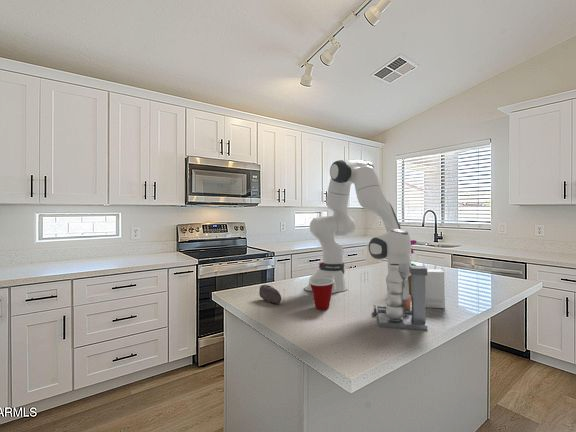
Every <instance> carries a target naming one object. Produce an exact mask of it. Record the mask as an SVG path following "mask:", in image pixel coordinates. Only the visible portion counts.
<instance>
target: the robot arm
mask: <svg viewBox="0 0 576 432" xmlns="http://www.w3.org/2000/svg"><path fill="white" fill-rule="evenodd" d="M329 176H330V180H329V182H328V183H329V184H328V187H327V195H326V199H325V203H326V206H327V208H328V209H329V210H330V211H332V212H333V214H332V215H329V216H328V215H326V216H324V215H322V216H317V217H314V218H312V220H311V221H310V222H309V230H310V231H309V232H310V233H311V234H312V236H314V237H315V238H316V239H317V240H318V242H319V243H320V246H321V252H322V253H321V254H322V261H319V262H318V268H319V269H318V270H316V271H315V272H314V273H312V274H311V275H310V277H309V279H308V283H306V284H305V285H304V290H305V291H308V292H309V291H310V292H312V288H311V285H310V283H309V281H310V280H312V279H316V278H330V279H333V280H334V283H333V286H332V292H331V294H335V293H340V292H345V291H347V290H348V288H347V283H346V277H345V271H346V264H345V261H344V259H345V258H344V248H343V246H342V245H341V244H339V243H337V242H336V240H335V237H346V236H349V235H353V234H354V233H355V230H356V222H355V220H354V218H353V217H351V215H350V213H349V209H348V207H349V198H350V193H351V186H352V184H354V189H355V193H356V194H355V195H356V198H357V201H358V203H359V205H360V206H361V207H362V208H363V209H365V210H367V211H369V212H371V213H373V214H374V215H375V214H376V215H377V216H378V217H379V218H381V220H382V222H383V225H384V228H385V230H386V232H385V233H384V234H382V235H378V236H375V237H372V238H371V239H370V240H369V243H368V252H369V255H370V256H371V257H372V258H373V259H375V260H386V261H387V274H388V273H389V272H390V269H389V268H390V264H400V268H401V270H400V272H401V273H402V275H403V276H404V279H405V280H404V288H403V300H409V282H408V276H411V273H410V272H409V266H411V263H412V260H411V254H412V253H411V248H412V245H411V240H412V239H411V236H410V233H409V232H408V231H407V230H405V229H402V228H401V225H400V222H399V220H398V218H397V216H396V212H395V210H394V208H393V206H392V204H391V203H390V202H389V200H388V199H387V197H386V196H385V193H384V191H383V188H382V184H381V180H380V179H379V176H378V173H377V171H376V169H375V166H374V164H373V163H372V162H371V161H369V160H365V159H364V160H360V159H345V160H343V159H340V160H336V161H334V162H333V163H332V164H331V166H330V168H329Z"/></svg>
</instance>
